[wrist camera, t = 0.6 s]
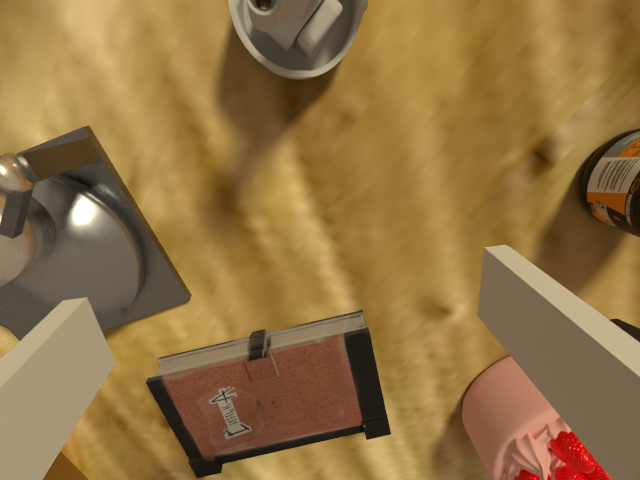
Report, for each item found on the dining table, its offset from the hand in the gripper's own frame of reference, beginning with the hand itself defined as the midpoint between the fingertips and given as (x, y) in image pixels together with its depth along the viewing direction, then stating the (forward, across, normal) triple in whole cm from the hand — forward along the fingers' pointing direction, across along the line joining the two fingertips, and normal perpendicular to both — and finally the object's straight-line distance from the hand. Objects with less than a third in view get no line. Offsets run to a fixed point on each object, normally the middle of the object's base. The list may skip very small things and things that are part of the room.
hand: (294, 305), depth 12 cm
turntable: (+25, -26, -7) cm, 36 cm away
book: (+26, -6, -29) cm, 40 cm away
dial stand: (+25, -20, +1) cm, 32 cm away
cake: (+26, +30, -38) cm, 55 cm away
